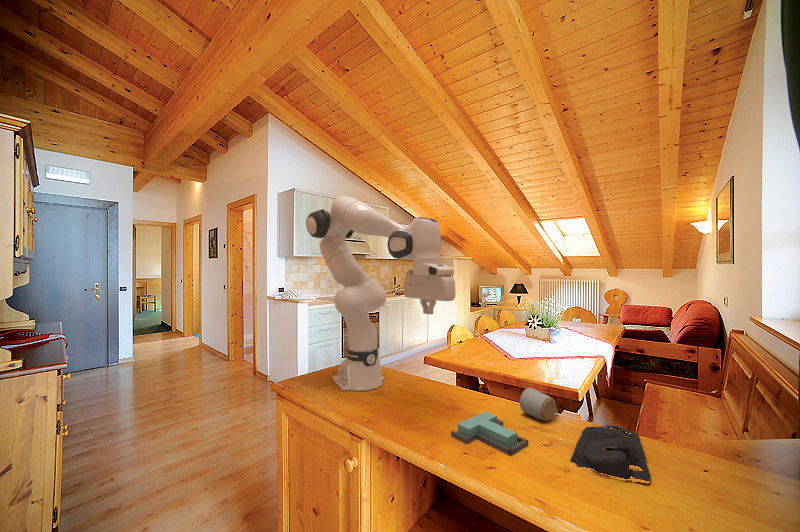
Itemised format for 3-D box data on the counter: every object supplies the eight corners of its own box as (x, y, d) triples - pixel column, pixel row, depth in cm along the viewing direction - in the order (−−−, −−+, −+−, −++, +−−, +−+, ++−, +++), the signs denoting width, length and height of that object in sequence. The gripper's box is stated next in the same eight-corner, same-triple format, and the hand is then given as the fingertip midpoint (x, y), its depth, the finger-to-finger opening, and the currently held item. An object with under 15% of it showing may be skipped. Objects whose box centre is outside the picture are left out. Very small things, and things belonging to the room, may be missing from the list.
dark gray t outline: (451, 435, 91) (450, 431, 91) (487, 418, 101) (487, 414, 101) (500, 461, 79) (500, 456, 79) (536, 439, 88) (536, 435, 88)
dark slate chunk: (649, 444, 86) (649, 425, 86) (651, 492, 68) (650, 469, 68) (582, 428, 95) (581, 411, 95) (567, 467, 77) (567, 446, 77)
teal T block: (457, 434, 92) (457, 423, 92) (485, 421, 99) (485, 411, 99) (498, 455, 82) (497, 443, 82) (525, 439, 89) (525, 427, 89)
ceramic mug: (542, 425, 96) (542, 398, 96) (519, 415, 103) (519, 389, 103) (565, 417, 102) (565, 391, 102) (541, 407, 109) (541, 383, 109)
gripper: (398, 269, 111) (399, 311, 111) (443, 269, 95) (444, 318, 95) (413, 269, 115) (414, 309, 115) (458, 268, 99) (459, 316, 99)
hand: (428, 313), depth 105 cm, fingers closed
